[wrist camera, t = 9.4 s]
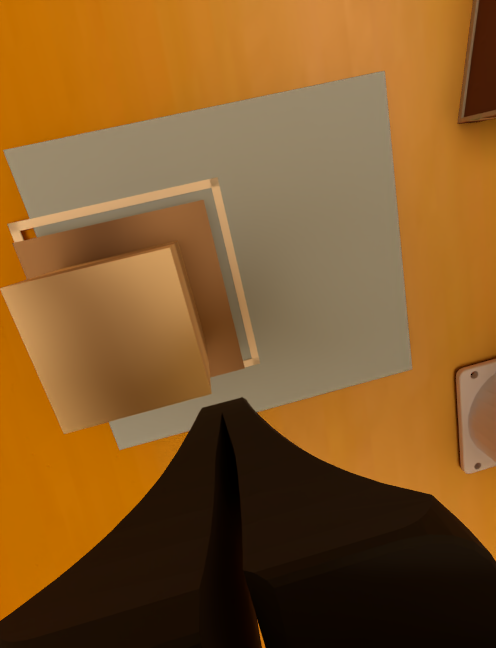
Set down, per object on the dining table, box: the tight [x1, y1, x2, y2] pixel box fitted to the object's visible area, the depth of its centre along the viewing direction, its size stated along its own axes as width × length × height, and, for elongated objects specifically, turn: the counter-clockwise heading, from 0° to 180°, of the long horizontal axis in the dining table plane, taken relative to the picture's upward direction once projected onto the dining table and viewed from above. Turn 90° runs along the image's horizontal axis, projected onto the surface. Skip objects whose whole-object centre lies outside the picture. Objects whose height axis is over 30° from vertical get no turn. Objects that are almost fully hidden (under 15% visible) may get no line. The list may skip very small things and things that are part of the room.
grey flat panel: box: [3, 71, 412, 450], centre depth 19 cm, size 19×16×1 cm
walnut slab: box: [13, 200, 245, 378], centre depth 17 cm, size 8×8×2 cm
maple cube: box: [0, 241, 212, 434], centre depth 14 cm, size 5×5×5 cm
